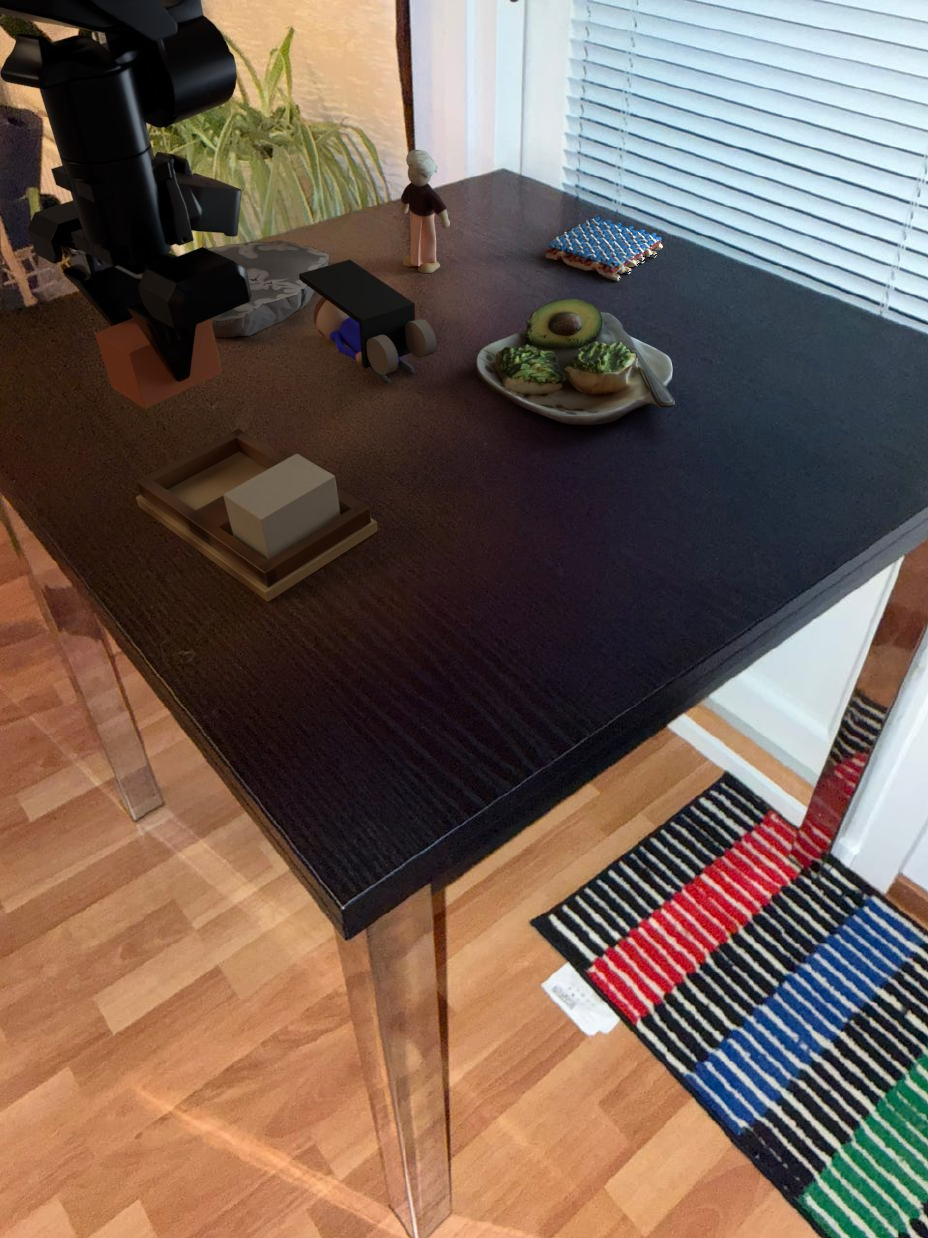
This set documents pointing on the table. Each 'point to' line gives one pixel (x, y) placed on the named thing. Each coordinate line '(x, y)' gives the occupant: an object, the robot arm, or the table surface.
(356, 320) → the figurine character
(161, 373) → the orange rectangular block
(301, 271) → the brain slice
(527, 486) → the table surface
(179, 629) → the table surface
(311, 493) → the cream block
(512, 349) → the salad plate
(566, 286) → the table surface
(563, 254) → the woven mat
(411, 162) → the grandmother figurine
